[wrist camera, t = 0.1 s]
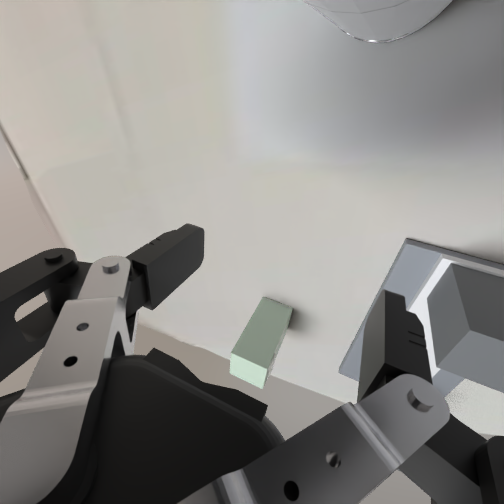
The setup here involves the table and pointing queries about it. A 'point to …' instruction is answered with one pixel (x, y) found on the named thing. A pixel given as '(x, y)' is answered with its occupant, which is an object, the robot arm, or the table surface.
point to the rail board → (448, 314)
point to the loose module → (260, 342)
